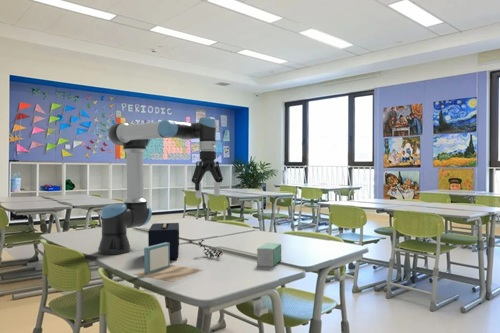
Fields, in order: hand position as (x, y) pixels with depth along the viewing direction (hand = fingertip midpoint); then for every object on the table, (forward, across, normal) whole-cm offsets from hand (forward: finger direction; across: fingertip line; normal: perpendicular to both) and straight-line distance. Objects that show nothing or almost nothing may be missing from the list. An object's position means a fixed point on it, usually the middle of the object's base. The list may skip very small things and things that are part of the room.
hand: (208, 196), depth 178 cm
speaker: (+28, -9, +19) cm, 35 cm away
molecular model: (+28, 0, -1) cm, 28 cm away
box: (+28, +6, -29) cm, 41 cm away
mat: (+28, -30, -4) cm, 41 cm away
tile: (+27, -30, +2) cm, 40 cm away
